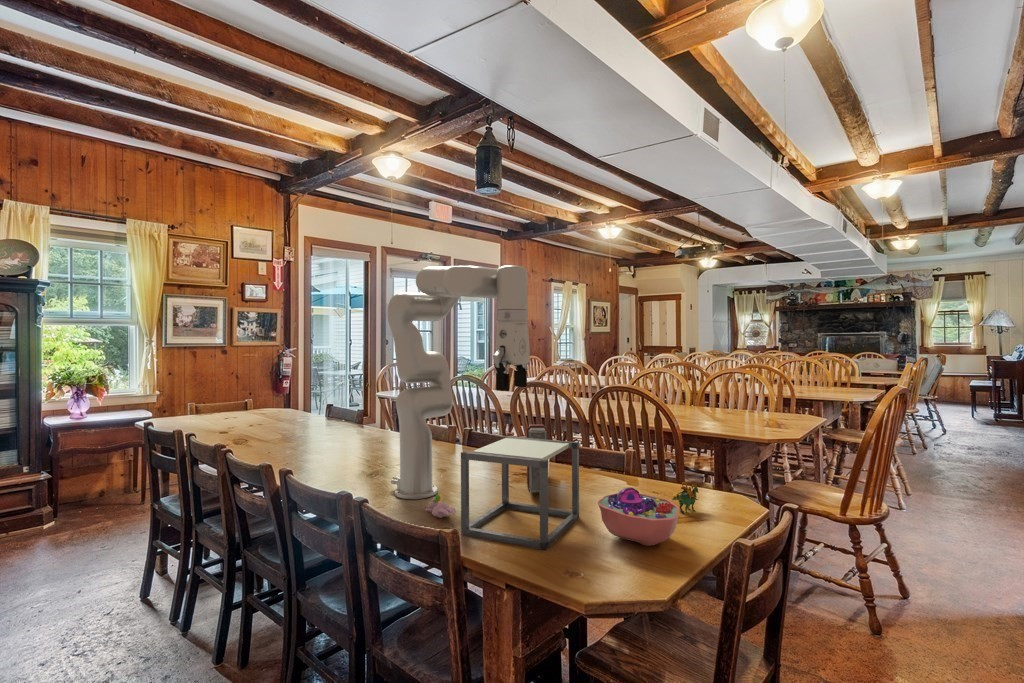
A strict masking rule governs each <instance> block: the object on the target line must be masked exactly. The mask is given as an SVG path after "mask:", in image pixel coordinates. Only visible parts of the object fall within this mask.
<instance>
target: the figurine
mask: <svg viewBox="0 0 1024 683" xmlns="http://www.w3.org/2000/svg"><path fill="white" fill-rule="evenodd" d="M684 485H685V486H684ZM680 489H681V490H682V491H679V492H678V493H677V494H676V495H674V496H673V497H672V498H671V500H672V501H678V503H679V513H684V514H685V515H687V514H688V515H690V512H688V510H689V511H690V510H692V511H693V512H696V510H695V509H694V508H695V507H694V505H695V504H696V501H699V499H698V498H697V494H698V493H699V488H698V485H697V484H693V483H692V485H691V486H689V487H688V484H687V482H684V481H683V482H681V487H680ZM683 506H685V508H684V510H685V511H684V510H683V508H682V507H683ZM690 506H691V508H690Z"/></svg>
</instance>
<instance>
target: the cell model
mask: <svg viewBox="0 0 1024 683" xmlns="http://www.w3.org/2000/svg"><path fill="white" fill-rule="evenodd" d="M597 505H598V507H599V509H600V516H601V521H602V522H603V524H604V526H605V528H606V529H607V530H608V532H609V533H610V534H611V535H612V536H615V537H617V538H619V539H622V540H626V541H633V542H636V543H639V544H641V545H643V546H647V547H649V546H654V545H658V544H660V543H663V542H665V541H667V540H669V539H670V537H672V535H673V534H674V532H675V530H676V528H677V525H678V521H679V513H680V506H678V505H676V504H675V503H674V501H673V500H672V501H671V500H669V499H666V498H661V497H657V496H654V495H649V494H645V493H640V492H639V490H637V489H635V488H634V487H624V488H622V489H620V491H619V492H617V493H613V494H607V495H604V496H603V497H602V498H600V499H598V500H597Z"/></svg>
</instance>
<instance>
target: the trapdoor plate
mask: <svg viewBox="0 0 1024 683" xmlns="http://www.w3.org/2000/svg"><path fill="white" fill-rule="evenodd" d="M567 449H569V443H563V442H551V441H540V440H529V439H518V438H504V439H502V438H501V439H499V440H497V441H495V442H492V443H489V444H487V445H485V446H482V447H479V448H477V449H475V450H472V451H471V452H474V453H484V454H493V455H503V456H512V457H522V458H531V459H541V460H548V461H549V459H551V458H553V457H555V456H557V455H558V454H561V453H562V452H563V451H566V450H567Z"/></svg>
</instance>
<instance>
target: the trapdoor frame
mask: <svg viewBox="0 0 1024 683" xmlns="http://www.w3.org/2000/svg"><path fill="white" fill-rule="evenodd" d="M504 438H518V439H529V440H540V441H551V442H563V443H569V448H568V449H571V510H568V509H560V508H554V507H549V459H548V460H541V459H531V458H522V457H512V456H503V455H493V454H484V453H474V452H472V451H464V450H463V451H461V452H460V532H461V533H460V534H461V536H466V537H472V538H478V539H483V540H487V539H488V540H489V541H493V540H494V541H495V542H498V543H504V544H509V545H515V546H519V547H526V548H530V549H536V550H541V551H547V550H548V549H549V548H550V547H551V546H552V545H554V543H555V542H556V541H557V540H558V539H559V538H560V537H561V536H562V535H564V533H566V531H567V530H568V529H570V527H571V526H572V525H573V524H575V522H576V521H578V519H580V458H579V457H580V452H579V451H580V446H579V445H580V443H579V441H568V440H557V439H548V440H546V439H535V438H527V437H522V436H521V437H520V436H513V435H511V436H510V435H503V436H501V440H502V439H504ZM470 461H476V462H477V461H478V462H483V463H484V462H486V463H493V464H494V463H495V464H501V502H500V503H498V504H497V505H496V506H494V507H492V508H491V509H489V510H488V511H486V512H485V513H483V514H481V515H480V516H478V517H477V518H474V520H472V521H470ZM509 465H511V466H512V465H513V466H519V467H521V466H522V467H527V466H528V467H537V468H540V492H539V505H535V504H527V503H520V502H515V501H510V499H509V498H510V496H509V494H510V480H509V479H510V476H509V472H510V471H509V469H510V466H509ZM505 510H513V511H521V512H527V513H534V514H539V539H537V538H530V537H525V536H520V535H516V534H508V533H505V532H504V533H503V532H499V531H492V530H491V531H490V530H486V529H480V527H481V526H483V525H485V524H486V523H487V522H489V521H490V520H492V519H493V518H495V517H496V516H498V515H499V514H501V513H502V512H504V511H505ZM549 516H553V517H559V518H564V520H562V522H560V524H558V525H557V526H556V527H555V528H554V529H553V530H551V532H550V533H549Z"/></svg>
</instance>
